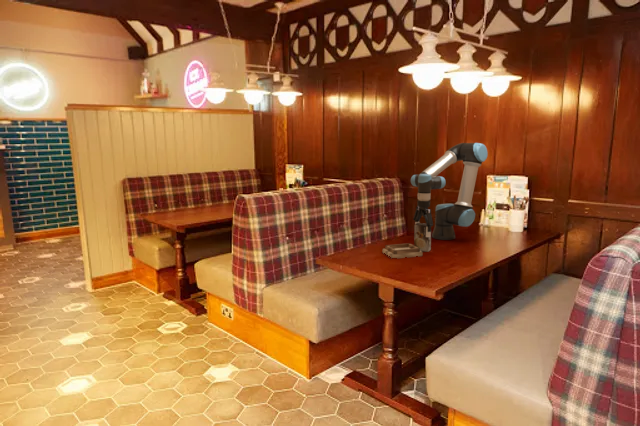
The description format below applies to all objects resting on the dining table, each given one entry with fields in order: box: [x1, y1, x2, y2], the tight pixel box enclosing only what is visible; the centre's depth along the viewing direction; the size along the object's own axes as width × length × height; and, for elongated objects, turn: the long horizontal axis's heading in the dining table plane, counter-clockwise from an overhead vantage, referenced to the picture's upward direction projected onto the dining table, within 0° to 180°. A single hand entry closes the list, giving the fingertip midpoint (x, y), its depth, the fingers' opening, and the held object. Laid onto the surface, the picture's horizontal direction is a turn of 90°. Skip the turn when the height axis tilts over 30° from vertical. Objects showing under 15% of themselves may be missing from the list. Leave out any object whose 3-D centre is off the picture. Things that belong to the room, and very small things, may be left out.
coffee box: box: [413, 222, 432, 253], centre depth 264 cm, size 9×6×16 cm
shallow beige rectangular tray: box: [382, 242, 424, 259], centre depth 256 cm, size 14×19×4 cm
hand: (422, 234), depth 263 cm, fingers open, 13 cm apart
